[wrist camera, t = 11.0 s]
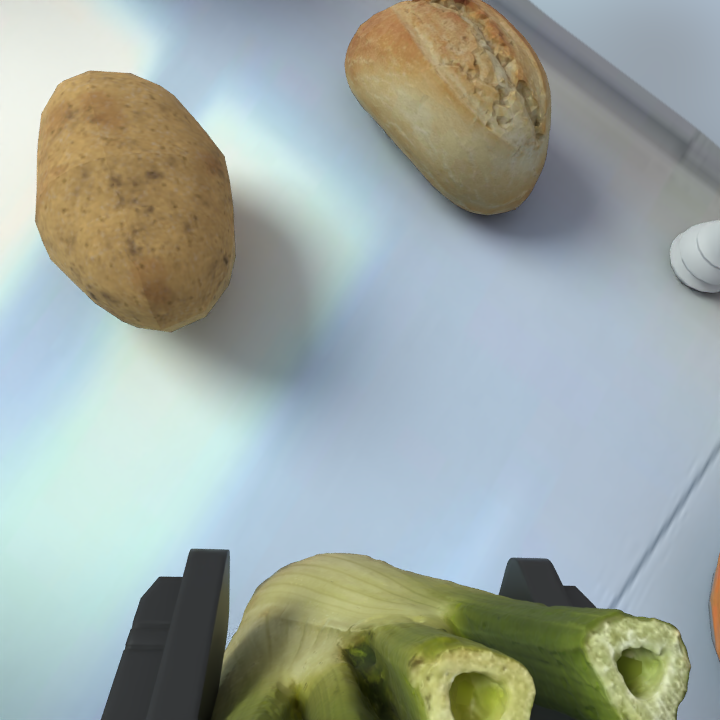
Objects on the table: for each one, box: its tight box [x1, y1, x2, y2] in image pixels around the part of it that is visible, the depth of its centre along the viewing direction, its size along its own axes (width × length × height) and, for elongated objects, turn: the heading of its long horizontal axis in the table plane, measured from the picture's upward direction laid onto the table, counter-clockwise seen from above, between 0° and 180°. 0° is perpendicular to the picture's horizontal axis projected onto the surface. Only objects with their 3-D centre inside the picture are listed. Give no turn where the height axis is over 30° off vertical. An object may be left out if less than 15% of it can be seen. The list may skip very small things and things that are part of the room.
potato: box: [35, 71, 236, 332], centre depth 31 cm, size 10×14×8 cm
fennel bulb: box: [211, 553, 691, 720], centre depth 11 cm, size 6×5×12 cm
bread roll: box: [345, 0, 551, 215], centre depth 36 cm, size 10×15×8 cm, turn 43°
